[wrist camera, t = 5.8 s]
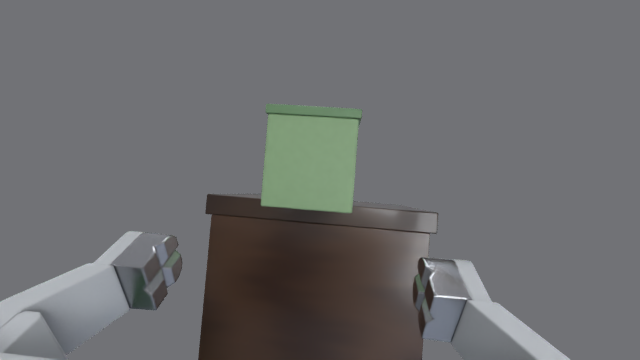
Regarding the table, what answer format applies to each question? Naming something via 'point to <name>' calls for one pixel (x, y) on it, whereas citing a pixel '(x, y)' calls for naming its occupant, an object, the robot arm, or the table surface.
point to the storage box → (310, 157)
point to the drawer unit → (312, 281)
